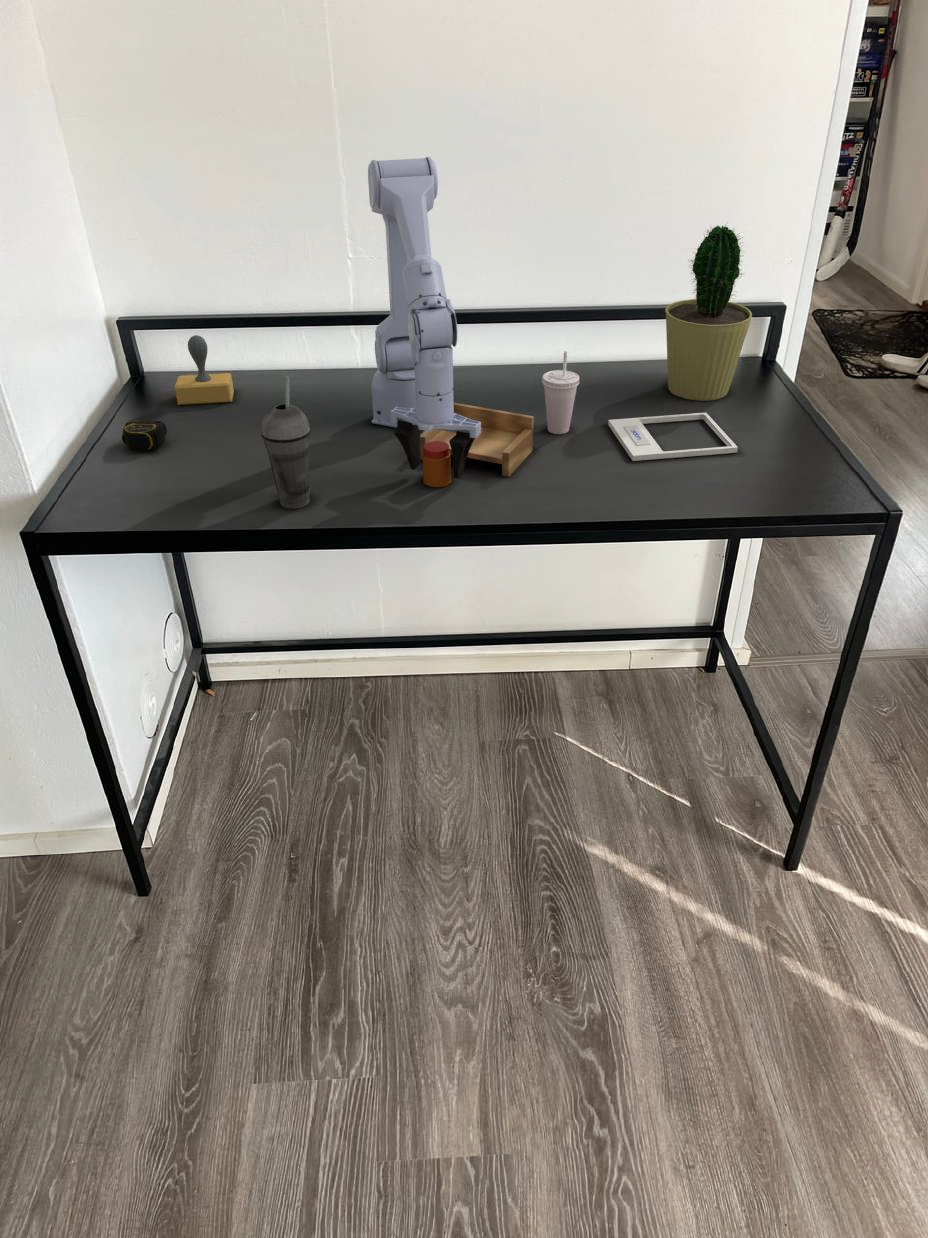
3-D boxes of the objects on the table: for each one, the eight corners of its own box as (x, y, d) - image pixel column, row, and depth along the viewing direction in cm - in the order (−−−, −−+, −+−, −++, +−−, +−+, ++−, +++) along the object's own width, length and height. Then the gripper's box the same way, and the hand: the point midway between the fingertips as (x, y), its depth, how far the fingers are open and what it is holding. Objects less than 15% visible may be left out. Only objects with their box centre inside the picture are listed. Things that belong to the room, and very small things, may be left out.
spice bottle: (418, 484, 150) (417, 449, 146) (430, 472, 153) (429, 438, 150) (443, 489, 148) (442, 454, 145) (455, 477, 151) (454, 443, 148)
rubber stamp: (234, 390, 182) (224, 329, 175) (231, 402, 177) (221, 339, 170) (181, 393, 181) (169, 331, 174) (177, 405, 176) (165, 342, 169)
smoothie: (574, 438, 163) (579, 359, 155) (537, 435, 164) (540, 357, 156) (578, 423, 168) (583, 346, 160) (542, 420, 169) (545, 343, 161)
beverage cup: (273, 491, 148) (255, 367, 137) (319, 489, 149) (306, 365, 137) (269, 514, 142) (250, 386, 131) (317, 511, 143) (303, 384, 131)
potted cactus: (655, 372, 188) (673, 211, 170) (735, 375, 186) (761, 213, 168) (657, 403, 175) (677, 232, 158) (743, 406, 173) (772, 234, 156)
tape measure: (169, 437, 165) (165, 416, 163) (162, 454, 160) (158, 433, 157) (130, 438, 165) (125, 418, 163) (121, 455, 159) (116, 435, 157)
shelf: (419, 459, 157) (418, 424, 153) (447, 434, 165) (446, 401, 161) (508, 477, 151) (509, 441, 148) (532, 450, 159) (534, 416, 156)
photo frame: (608, 418, 167) (706, 411, 169) (608, 424, 167) (705, 417, 169) (633, 454, 155) (738, 446, 157) (632, 460, 155) (737, 452, 158)
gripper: (378, 390, 141) (384, 473, 149) (467, 406, 136) (467, 490, 144) (400, 374, 147) (405, 455, 154) (486, 389, 142) (486, 471, 149)
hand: (436, 471), depth 150 cm, fingers open, 7 cm apart
